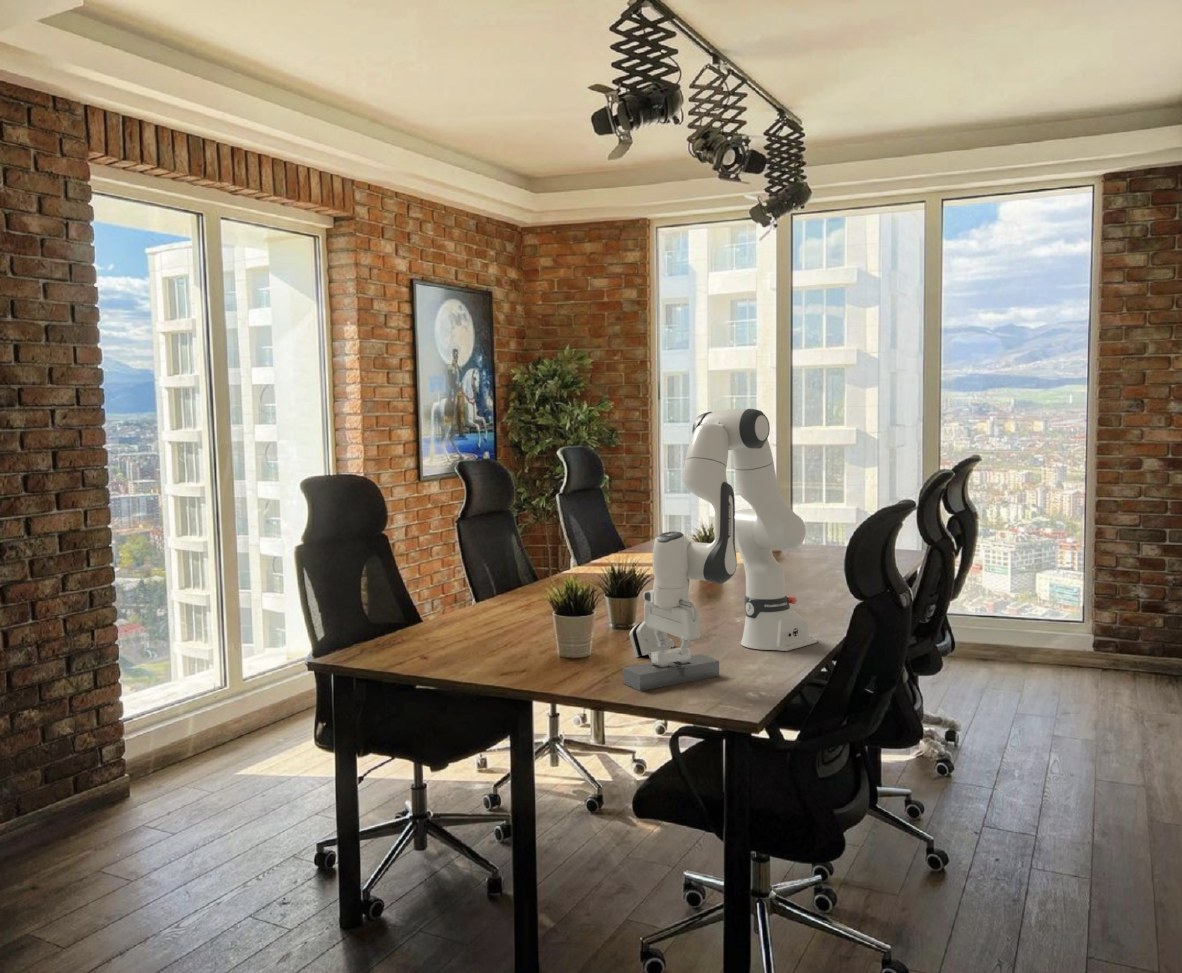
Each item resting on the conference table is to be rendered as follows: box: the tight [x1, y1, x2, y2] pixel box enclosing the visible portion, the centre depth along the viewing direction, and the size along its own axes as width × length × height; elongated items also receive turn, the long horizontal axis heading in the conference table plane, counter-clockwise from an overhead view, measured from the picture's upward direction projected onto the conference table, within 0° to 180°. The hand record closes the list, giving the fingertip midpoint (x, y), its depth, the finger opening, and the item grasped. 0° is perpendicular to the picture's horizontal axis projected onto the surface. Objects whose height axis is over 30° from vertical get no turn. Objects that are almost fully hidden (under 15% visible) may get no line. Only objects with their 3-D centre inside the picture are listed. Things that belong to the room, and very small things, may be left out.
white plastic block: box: [628, 620, 676, 660], centre depth 278 cm, size 17×5×10 cm, turn 152°
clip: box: [650, 647, 692, 669], centre depth 248 cm, size 10×3×8 cm, turn 120°
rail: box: [622, 654, 720, 692], centre depth 248 cm, size 24×8×4 cm, turn 119°
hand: (672, 650), depth 248 cm, fingers open, 8 cm apart
